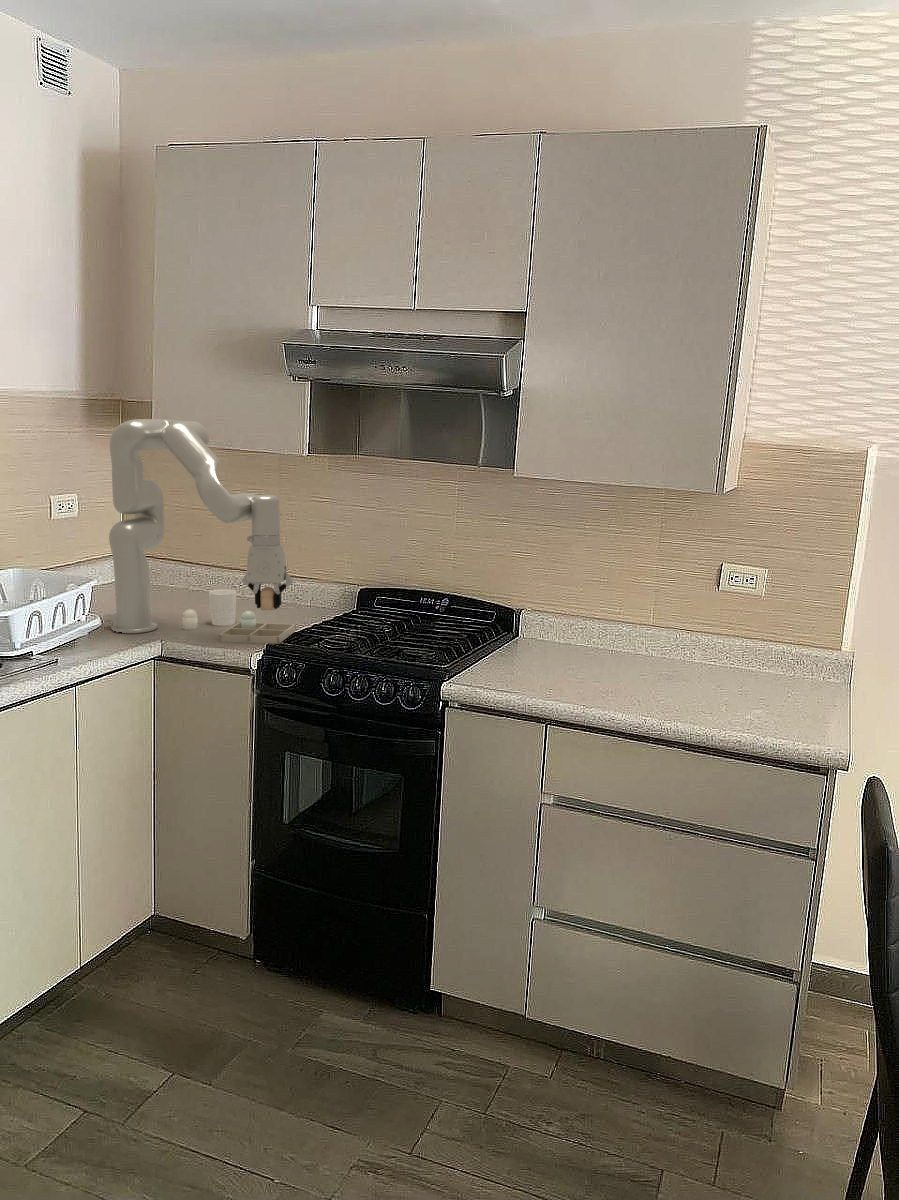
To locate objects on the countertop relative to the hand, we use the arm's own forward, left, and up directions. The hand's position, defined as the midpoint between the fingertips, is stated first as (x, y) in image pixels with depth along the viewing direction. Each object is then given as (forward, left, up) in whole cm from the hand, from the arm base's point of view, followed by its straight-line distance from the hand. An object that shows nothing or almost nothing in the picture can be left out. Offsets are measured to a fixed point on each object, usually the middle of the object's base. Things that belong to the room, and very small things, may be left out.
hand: (268, 606), depth 288 cm
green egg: (-8, +8, -9) cm, 15 cm away
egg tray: (-4, +4, -10) cm, 11 cm away
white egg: (-26, +10, -10) cm, 30 cm away
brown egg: (0, 0, -1) cm, 1 cm away
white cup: (-19, +18, -10) cm, 28 cm away
